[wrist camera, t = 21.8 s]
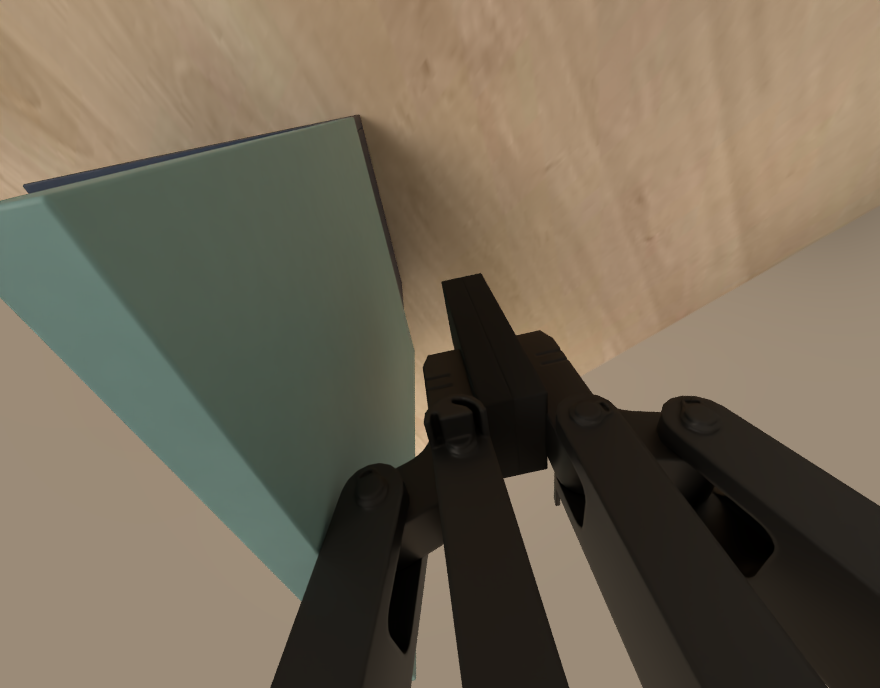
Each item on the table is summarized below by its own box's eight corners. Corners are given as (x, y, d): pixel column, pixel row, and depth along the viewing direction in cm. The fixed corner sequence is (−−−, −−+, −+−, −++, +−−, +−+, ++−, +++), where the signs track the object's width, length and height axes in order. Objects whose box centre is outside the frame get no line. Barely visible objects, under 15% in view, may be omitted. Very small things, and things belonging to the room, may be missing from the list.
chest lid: (383, 685, 10) (416, 680, 10) (-81, 220, 3) (41, 195, 3) (400, 353, 24) (414, 350, 24) (332, 121, 16) (353, 116, 16)
